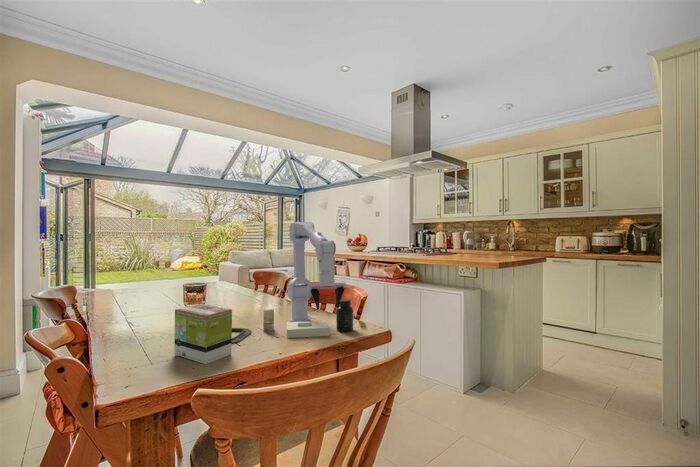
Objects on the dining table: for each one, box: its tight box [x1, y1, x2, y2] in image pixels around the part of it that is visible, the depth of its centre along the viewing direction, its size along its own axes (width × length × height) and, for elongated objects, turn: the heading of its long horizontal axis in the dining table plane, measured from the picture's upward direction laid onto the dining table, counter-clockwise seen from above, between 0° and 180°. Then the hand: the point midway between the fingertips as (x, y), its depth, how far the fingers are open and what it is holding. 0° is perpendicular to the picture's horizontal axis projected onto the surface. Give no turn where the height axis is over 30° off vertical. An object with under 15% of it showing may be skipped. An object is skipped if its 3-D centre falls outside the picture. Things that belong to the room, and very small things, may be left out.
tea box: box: [173, 303, 233, 365], centre depth 103 cm, size 15×10×15 cm, turn 62°
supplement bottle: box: [335, 298, 354, 333], centre depth 133 cm, size 7×7×12 cm
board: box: [285, 320, 331, 339], centre depth 129 cm, size 11×16×3 cm
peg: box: [262, 308, 275, 333], centre depth 132 cm, size 4×4×8 cm
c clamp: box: [232, 327, 252, 345], centre depth 122 cm, size 20×17×3 cm
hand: (328, 308), depth 124 cm, fingers open, 7 cm apart
